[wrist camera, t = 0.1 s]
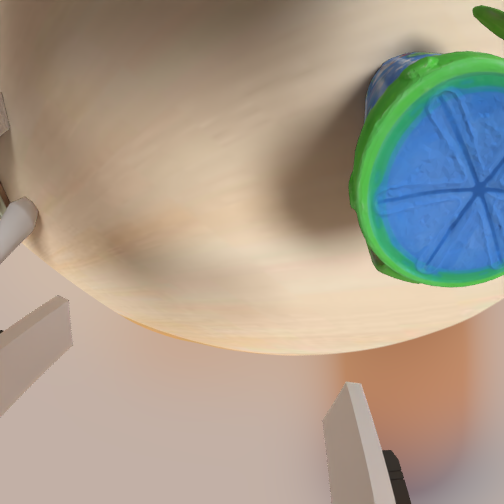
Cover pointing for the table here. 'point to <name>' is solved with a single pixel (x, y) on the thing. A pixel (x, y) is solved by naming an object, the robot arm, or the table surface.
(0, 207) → the grey brown flat rectangle
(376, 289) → the table surface
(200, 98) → the table surface
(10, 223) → the salt shaker
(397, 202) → the snack cup
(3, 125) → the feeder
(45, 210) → the table surface
